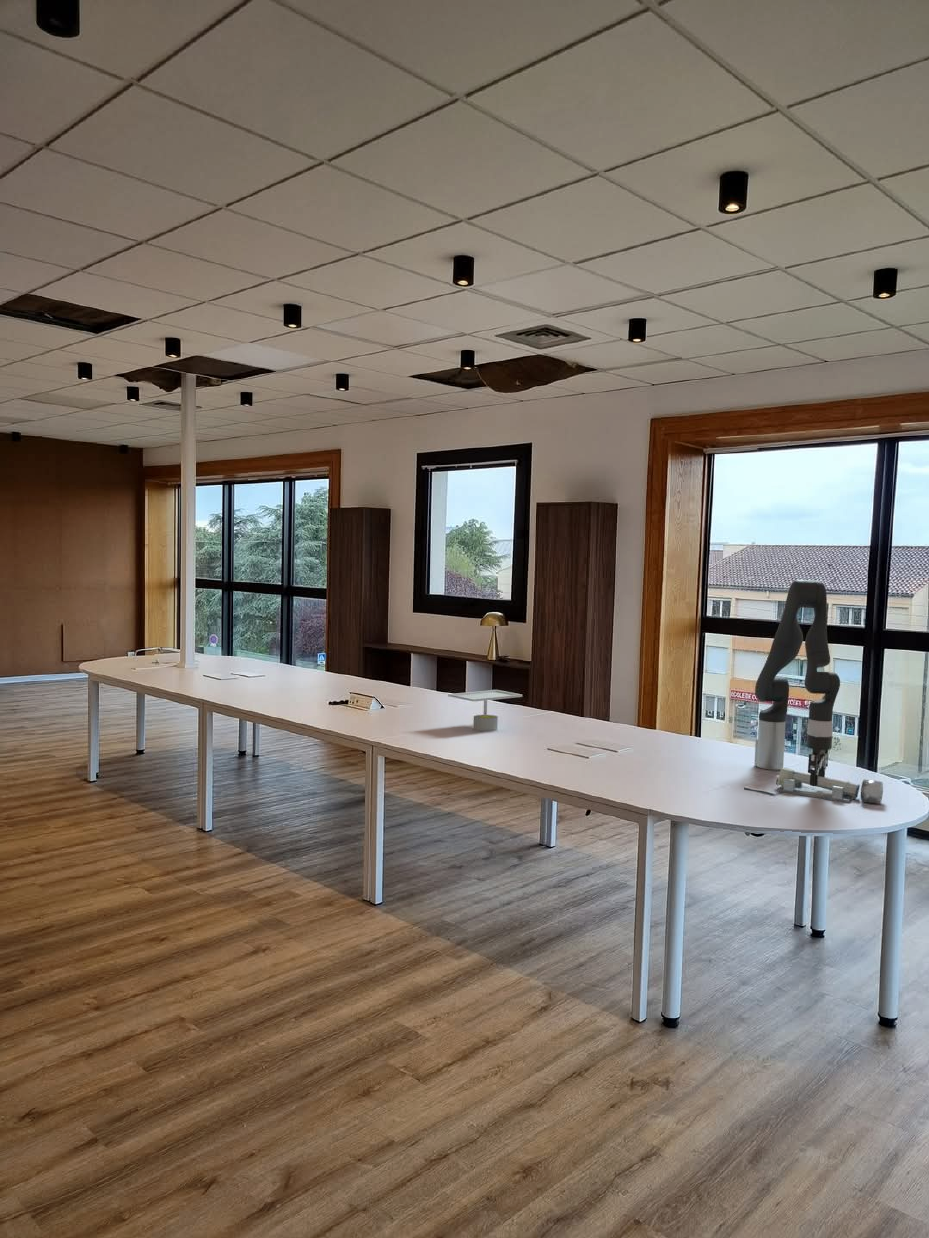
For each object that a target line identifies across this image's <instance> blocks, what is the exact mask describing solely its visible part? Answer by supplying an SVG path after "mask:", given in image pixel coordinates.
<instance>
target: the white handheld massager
mask: <svg viewBox="0 0 929 1238" xmlns="http://www.w3.org/2000/svg"><path fill="white" fill-rule="evenodd" d="M775 778H776V782H775V784H776V786H780V787H784V779H785V778H787V779H793V780H795V783H796V781H798V782H801V783H802V784H805V785H809V786H811V785H810V774H809V773H805V772H799V771H794V769H792V768H788V767H783V768H782V769H780V770H779V774H776V776H775ZM850 782H851V781H849V780H847V781H846V780H845V781H844V780H841V779H840V780H839V779H836V778H835V779H834V778H831V777H826V776H825V777H820V776H818V784H817V786H816V788H822V789H828V790H832V787H833V786H838V787H844V792H843V794H845V795H846V794H847V795H851V796H855V798H857V797H858V795H859V791H860V788H861V787H860V786H861V785H860V784H857V783H854V782H851V783H850Z"/></svg>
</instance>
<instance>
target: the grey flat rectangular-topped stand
mask: <svg viewBox="0 0 929 1238" xmlns="http://www.w3.org/2000/svg"><path fill="white" fill-rule="evenodd" d="M447 694H448V695H447V697H450V698H454V699H455V698H456V699H460V700H465V701H470V702H474V703H475V702H483V714H477V715H473V725H472V726H473V730H474V731H477V732H494V731H498V726H499V725H498V722H499V720H498V718H499V716H498V715H495V714H494V715H493V714H488V701H492V700H502V699H503V700H504V699H513V698H521V697H522V698H523V694H520V693H515V692H512V691H511V692H510V691H505V690H499V689H489V690H481V691H479V690H478V691H469V692H468V691H467V692H458V693H447Z"/></svg>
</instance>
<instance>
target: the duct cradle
mask: <svg viewBox="0 0 929 1238" xmlns="http://www.w3.org/2000/svg"><path fill="white" fill-rule="evenodd" d="M849 782H850V783H852V782H851V781H849ZM860 786H861V787H860V801H861V802H862V803H868V804H875V805H881V803H882V800H883V794H884V784H883V782H882V781H880V780H879V781H878V780H872V779H863V780H862V783H861V785H860ZM776 791H777V792H780V793H785V794H792V795H799V796H804V797H810V798H815V799H816V798H817V799H820V800H821V799H822V800H828V801H835V802H840V803H847V804H849V803H851V802H852V801H853V800H854V799H856V797H855V796H851V795H847V794H846V795H845V794H843V792H844V787H838V786H833V787H832V790H828V789H824V788H820V787H817V786H810V785H809V786H808V785H804V784H803V783H801V782H798V781H796V783H795V780H793V779H787V778H785V779H784V787H781V786H780V787H778V788H776Z"/></svg>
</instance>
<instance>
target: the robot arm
mask: <svg viewBox="0 0 929 1238" xmlns="http://www.w3.org/2000/svg"><path fill="white" fill-rule="evenodd" d="M827 595H828V594H827V589H826V585H825V584H824V582H823V581H820V580H811V579H810V580H809V579H796V580H794V581H792V583H791V584H790V586H789V589H788V592H787V596H786V599H785V604H784V609H783V613H782V616H781V619H780V622H779V625H778V628H777V630H776V632H775V635H774V637H773V641H772V643H771V648H770V650H769V653H768V656H767V659H766V660H765V663H764V665H763V667H762V670H761V671H760V673H759V675H758V678H757V680H756V683H755V686H754V687H755V688H754V694H755V697H756V699H757V700H758V701H760V702H764V703H765V702H767V703H770V702H771V703H772V705H771V706H769V707H767V708H765V709H762V710H760V711H759V713H758V727H757V728H758V729H757V730H758V732H757V738H756V739H755V744H754V766H756V767H758V768H759V769H764V770H769V771H770V770H773V771H774V770H775V771H778V770H779V771H780V770H781V769H782V768H784V761H785V760H784V758H785V738H786V723H787V722H786V717H787V714H788V704H789V697H790V683H789V681H788V679H787V678H786V677H785V676H783V675H782V676H779V675H778V674H779V673H780V672H781V671H782V670H783V669H784V668H786V667H787V666H788V665H790V663H792V662H793V661H794V660H795V659H796V658H797V656H798V655H799V653H800V650H801V648H802V645H803V643H804V647H805V648H804V649H805V655H806V671H805V678H804V687H805V690H806V691H807V692H808V693H810V694H813V695H814V694H816V695H818V694H819V695H820V694H822V695H823V696H822V698H820V699H817V700H812V701H811V702H810V703H809V707H808V713H809V714H808V721H807V732H806V747H807V748H808V749H810V750H812V753H809V754H808V762H807V763H808V764H807V765H808V766H807V774H810V785H809V786H810V787H817V784H818V776H820V777H826V769H827V767H828V766H829V763H828V761H829V751H830V750H831V749H832V747H833V731H834V730H833V728H834V727H833V710H834V706H835V702H836V699H837V696H838V694H839V691H840V688H841V680H840V677H839V675H838V674H837V673H836V672H834V671H818V668H824V667H827V666H828V665H830V663H831V655H830V649H829V643H828V641H829V640H828V632H827V630H828V629H827V628H828V627H827V626H828V625H827V623H828V621H827V620H828V603H827V602H828V599H827V598H828V597H827ZM803 608H806V609H809V608H810V609H813V611H814V619H813V621H812V624H811V626H810V627H809V630H808V631H807V633H806V636H805V641H804V636H803V635H804V634H803V631H802V629H801V626H800V624H799V621H798V618H797V617H798V612H799V610H800V609H803ZM803 641H804V642H803ZM777 675H778V676H777Z"/></svg>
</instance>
